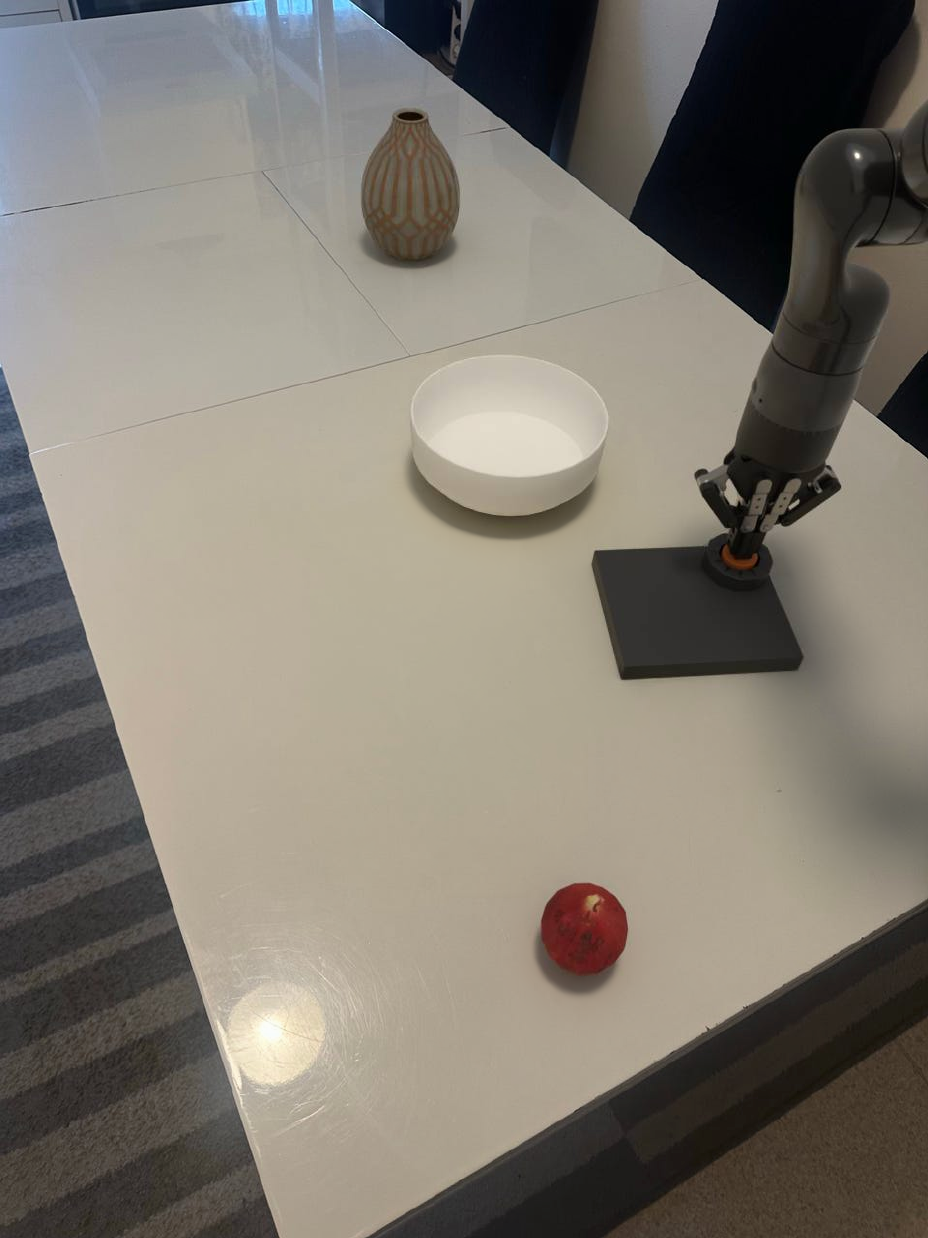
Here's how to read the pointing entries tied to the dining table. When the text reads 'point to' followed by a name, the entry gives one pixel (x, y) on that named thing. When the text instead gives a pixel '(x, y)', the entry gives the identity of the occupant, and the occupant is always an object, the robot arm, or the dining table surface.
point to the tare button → (738, 564)
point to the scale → (692, 613)
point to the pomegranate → (584, 928)
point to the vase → (410, 189)
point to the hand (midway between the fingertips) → (739, 552)
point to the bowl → (507, 433)
